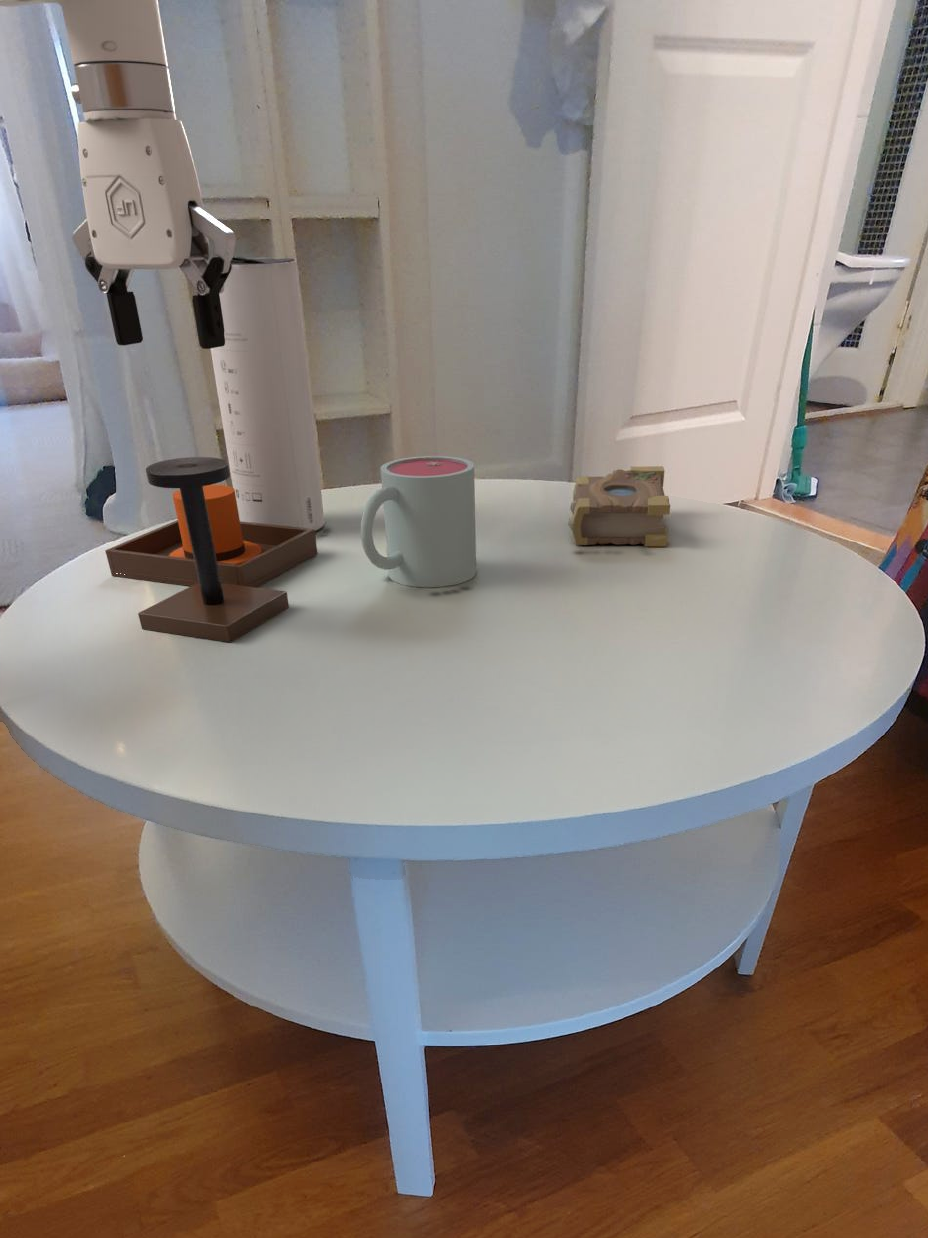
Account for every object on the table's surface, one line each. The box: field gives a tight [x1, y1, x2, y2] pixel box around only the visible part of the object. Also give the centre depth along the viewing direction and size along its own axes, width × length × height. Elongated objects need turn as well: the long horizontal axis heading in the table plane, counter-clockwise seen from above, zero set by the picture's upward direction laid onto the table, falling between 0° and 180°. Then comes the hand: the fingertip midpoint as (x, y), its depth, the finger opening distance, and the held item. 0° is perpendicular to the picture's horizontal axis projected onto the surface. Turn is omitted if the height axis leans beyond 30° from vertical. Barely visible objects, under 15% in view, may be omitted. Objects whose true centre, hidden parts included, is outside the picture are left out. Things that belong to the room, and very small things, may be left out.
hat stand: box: [137, 456, 290, 643], centre depth 85 cm, size 10×10×13 cm
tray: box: [105, 519, 319, 588], centre depth 101 cm, size 17×14×3 cm
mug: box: [360, 455, 477, 588], centre depth 94 cm, size 14×9×10 cm
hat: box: [169, 484, 262, 565], centre depth 100 cm, size 10×10×7 cm
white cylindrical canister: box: [208, 255, 325, 532], centre depth 104 cm, size 11×10×26 cm
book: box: [567, 465, 671, 547], centre depth 107 cm, size 15×11×5 cm
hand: (171, 345), depth 89 cm, fingers open, 9 cm apart
